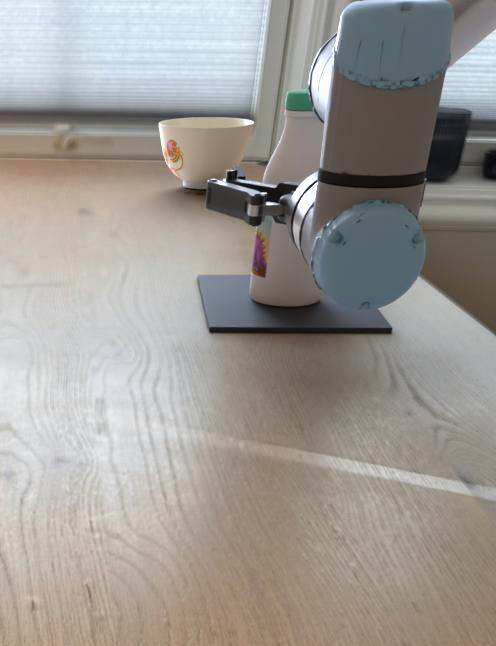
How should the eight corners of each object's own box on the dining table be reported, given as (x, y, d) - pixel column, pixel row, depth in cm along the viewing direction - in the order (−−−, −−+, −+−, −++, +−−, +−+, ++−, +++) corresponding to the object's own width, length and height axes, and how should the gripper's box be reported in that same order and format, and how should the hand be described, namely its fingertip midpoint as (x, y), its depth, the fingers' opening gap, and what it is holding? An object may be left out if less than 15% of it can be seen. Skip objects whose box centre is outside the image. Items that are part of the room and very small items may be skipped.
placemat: (391, 332, 97) (392, 327, 97) (208, 331, 99) (209, 327, 99) (350, 278, 116) (351, 274, 115) (196, 278, 117) (197, 274, 117)
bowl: (146, 181, 178) (149, 119, 172) (232, 177, 179) (237, 115, 173) (167, 196, 164) (171, 129, 159) (260, 191, 166) (267, 125, 160)
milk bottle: (330, 295, 108) (361, 87, 97) (307, 312, 102) (337, 94, 91) (263, 287, 111) (286, 86, 100) (237, 303, 106) (258, 92, 95)
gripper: (184, 267, 85) (176, 220, 103) (481, 267, 83) (421, 219, 100) (190, 173, 81) (181, 140, 99) (504, 170, 79) (437, 137, 96)
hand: (302, 180), depth 100 cm, fingers open, 13 cm apart
